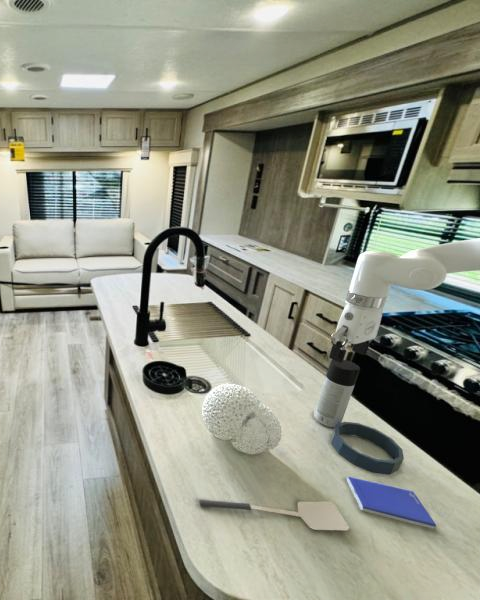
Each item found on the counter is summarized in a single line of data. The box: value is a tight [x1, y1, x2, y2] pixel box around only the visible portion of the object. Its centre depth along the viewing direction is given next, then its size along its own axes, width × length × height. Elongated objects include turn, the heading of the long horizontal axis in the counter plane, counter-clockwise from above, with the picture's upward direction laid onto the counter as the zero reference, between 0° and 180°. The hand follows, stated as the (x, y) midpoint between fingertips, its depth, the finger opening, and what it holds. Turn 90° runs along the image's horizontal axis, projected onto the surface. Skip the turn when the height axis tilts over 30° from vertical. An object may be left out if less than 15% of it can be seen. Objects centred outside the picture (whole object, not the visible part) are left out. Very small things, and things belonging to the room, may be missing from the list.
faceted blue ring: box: [330, 421, 405, 476], centre depth 83 cm, size 14×14×4 cm
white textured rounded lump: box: [201, 383, 283, 455], centre depth 88 cm, size 20×18×16 cm
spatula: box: [198, 499, 350, 532], centre depth 69 cm, size 6×29×2 cm, turn 82°
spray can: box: [313, 359, 361, 428], centre depth 91 cm, size 7×7×20 cm
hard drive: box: [346, 476, 437, 530], centre depth 71 cm, size 2×8×12 cm
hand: (347, 356), depth 87 cm, fingers open, 9 cm apart
